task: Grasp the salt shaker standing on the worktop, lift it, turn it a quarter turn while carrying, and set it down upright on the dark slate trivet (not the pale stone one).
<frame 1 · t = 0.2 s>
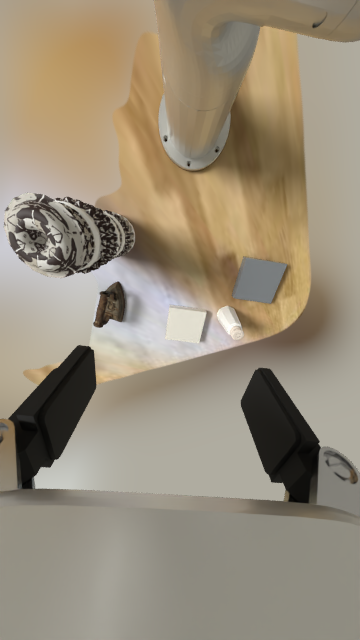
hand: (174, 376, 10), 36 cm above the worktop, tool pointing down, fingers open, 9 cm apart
salt shaker: (225, 314, 49), on the worktop
decorative candle: (117, 235, 39), on the worktop
clothes iron: (114, 299, 47), on the worktop
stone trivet: (184, 322, 50), on the worktop
slate trivet: (256, 279, 44), on the worktop
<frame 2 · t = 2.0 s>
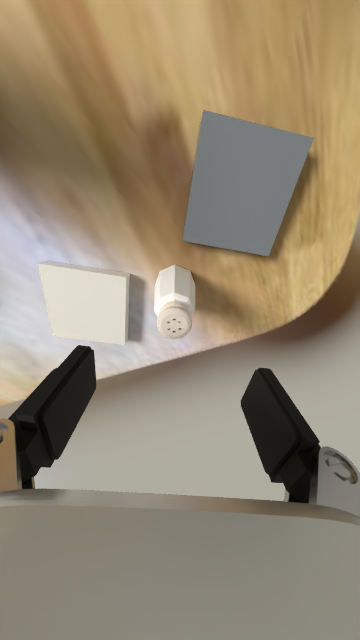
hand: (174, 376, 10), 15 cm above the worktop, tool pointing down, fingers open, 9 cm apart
salt shaker: (175, 284, 23), on the worktop
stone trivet: (93, 303, 24), on the worktop
slate trivet: (235, 198, 19), on the worktop
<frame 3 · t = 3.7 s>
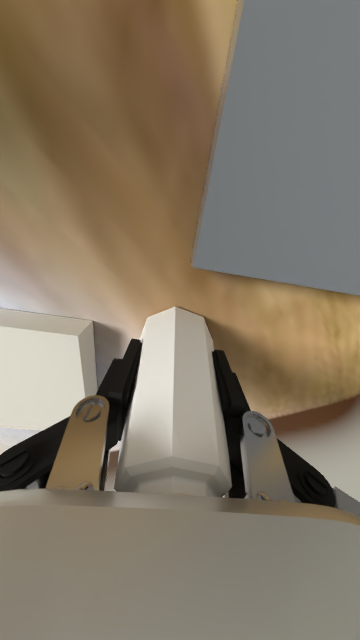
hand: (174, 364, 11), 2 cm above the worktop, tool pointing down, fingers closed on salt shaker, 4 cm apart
salt shaker: (175, 337, 13), on the worktop, touching gripper
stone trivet: (32, 366, 14), on the worktop
slate trivet: (307, 174, 9), on the worktop
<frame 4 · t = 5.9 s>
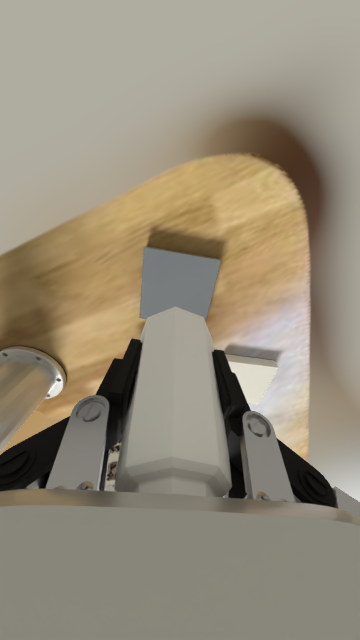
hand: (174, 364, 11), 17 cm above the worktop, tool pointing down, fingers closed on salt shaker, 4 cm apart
salt shaker: (175, 337, 13), point 14 cm above the worktop, touching gripper
decorative candle: (134, 424, 41), on the worktop
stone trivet: (239, 376, 34), on the worktop
slate trivet: (177, 287, 26), on the worktop
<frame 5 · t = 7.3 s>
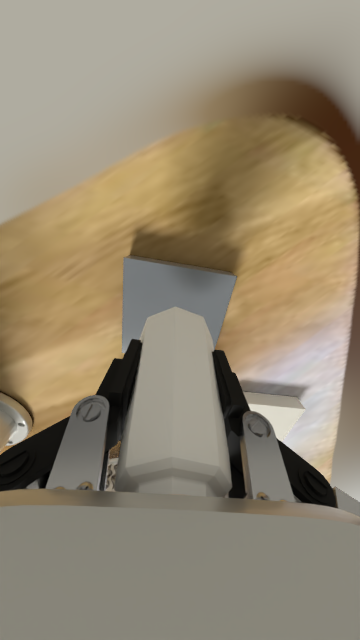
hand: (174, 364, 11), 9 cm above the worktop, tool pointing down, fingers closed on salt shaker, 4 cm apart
salt shaker: (175, 337, 13), point 6 cm above the worktop, touching gripper
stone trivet: (252, 415, 27), on the worktop
slate trivet: (173, 310, 19), on the worktop
when the fingers open (5 cm above the worktop, at t = 8.4 s): salt shaker stays where it is, resting on slate trivet.
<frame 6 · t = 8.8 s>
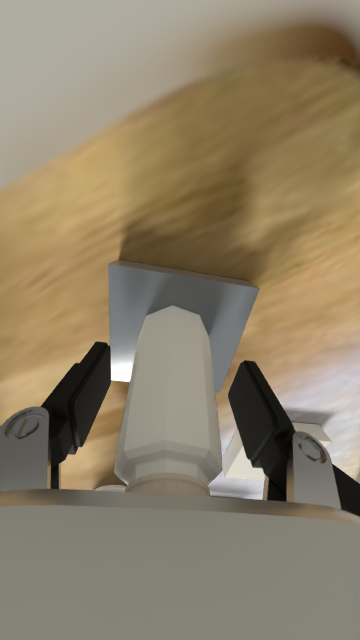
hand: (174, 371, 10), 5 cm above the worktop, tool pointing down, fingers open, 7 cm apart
salt shaker: (173, 335, 14), point 2 cm above the worktop, touching slate trivet
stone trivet: (266, 443, 24), on the worktop
slate trivet: (175, 327, 15), on the worktop
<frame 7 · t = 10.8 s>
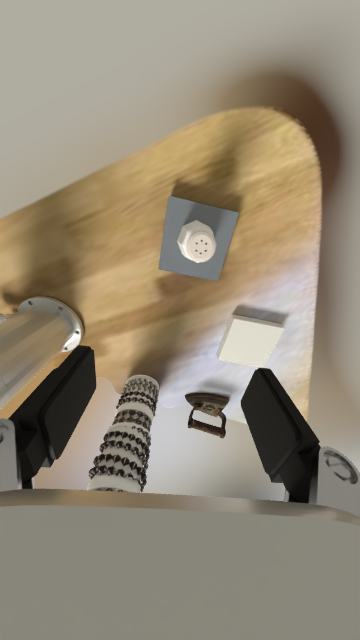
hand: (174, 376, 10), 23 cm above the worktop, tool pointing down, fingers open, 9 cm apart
salt shaker: (195, 240, 26), point 2 cm above the worktop, touching slate trivet
decorative candle: (142, 386, 44), on the worktop
clothes iron: (204, 399, 46), on the worktop
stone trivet: (246, 339, 36), on the worktop
slate trivet: (195, 242, 28), on the worktop
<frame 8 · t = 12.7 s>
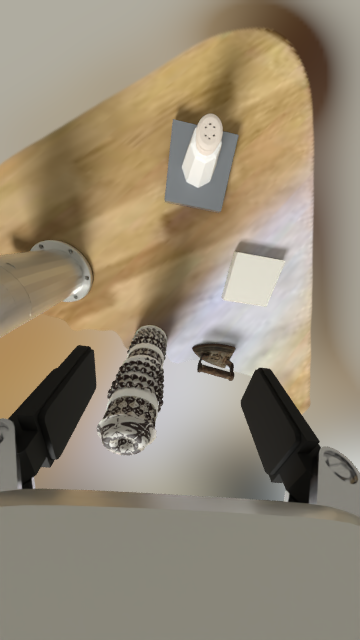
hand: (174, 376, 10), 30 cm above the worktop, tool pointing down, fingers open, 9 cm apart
salt shaker: (198, 167, 28), point 2 cm above the worktop, touching slate trivet
decorative candle: (151, 338, 45), on the worktop
clothes iron: (211, 351, 47), on the worktop
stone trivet: (249, 279, 38), on the worktop
slate trivet: (197, 173, 30), on the worktop
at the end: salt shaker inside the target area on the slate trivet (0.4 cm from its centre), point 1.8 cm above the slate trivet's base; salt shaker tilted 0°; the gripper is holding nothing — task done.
